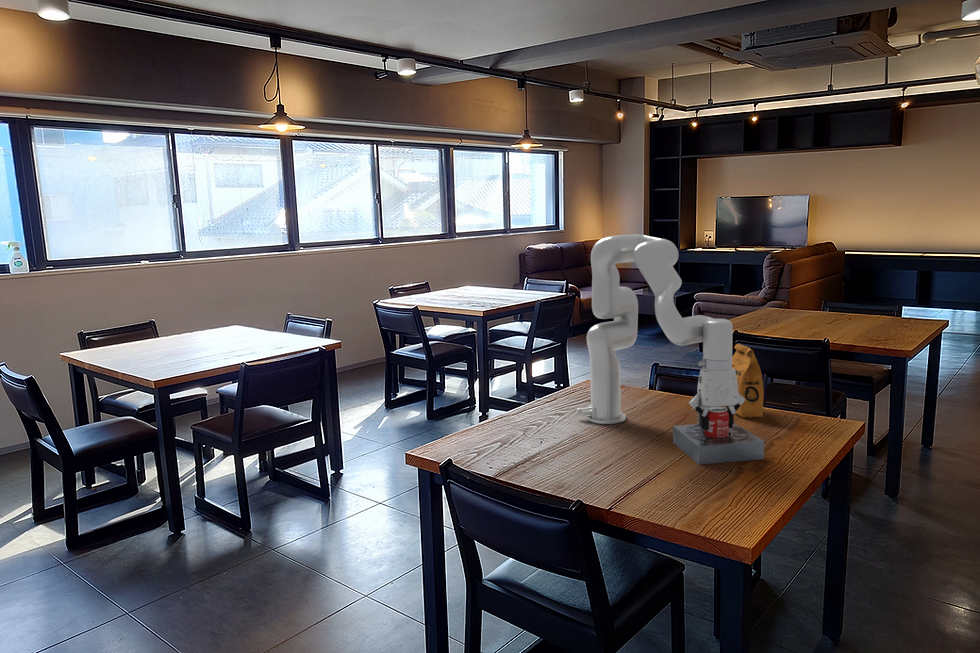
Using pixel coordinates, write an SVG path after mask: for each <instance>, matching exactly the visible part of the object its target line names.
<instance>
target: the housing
mask: <svg viewBox="0 0 980 653" xmlns="http://www.w3.org/2000/svg"><path fill="white" fill-rule="evenodd" d="M672 443H673V444H674V445H675V446H676V447H677V448H679V449H680V450H681V451H682V452H683V453H684V454H686V455H687V456H688V457H689V458H691V459H692V461H694V462H695V463H697V465H699V466H700V465H710V464H712V465H713V464H721V463H722V464H723V463H734V462H748V461H755V460H758V461H759V460H764V459H765V441H764V440H763V439H762V438H760V437H759V436H757V435H755V434H754V433H752V432H750V431H749V430H747V429H746V428H744V427H743V426H741V425H739V424H738V423H736V422H734V424H733V428H729V436H728V437H722V438H716V437H709V436H706V435H705V430H704V429H703V428H701V426H700V424H698V423H695V424H682V425H679V424H678V425H672Z"/></svg>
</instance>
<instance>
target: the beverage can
mask: <svg viewBox="0 0 980 653" xmlns="http://www.w3.org/2000/svg"><path fill="white" fill-rule="evenodd" d="M707 416H708V430H705V435H706V436H709V437H716V438H722V437H728V436H729V414H728V412H727V409H726V407H711V408H709V410H708V412H707Z"/></svg>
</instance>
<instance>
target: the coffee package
mask: <svg viewBox="0 0 980 653" xmlns="http://www.w3.org/2000/svg"><path fill="white" fill-rule="evenodd" d="M733 348H734V349H735V350H736V351H735V352H734V354H733V355H732V368H733V369H735V372H736V377H737V384H738V393H739V394H740V395H741V396H742V397H743V398H745V401H744V402H743V403H742V405H740V407H739V408H738V410H737V411H736V413H735V414H736V415H737V416H740V417H741V418H743V419H744V418H749V419H750V418H762V417H764V414H763V413H764V397H765V396H764V394H765V393H764V392H765V391H764V383H763V382H764V381H763V376H762V371H761V368H760V365H759V363H758V360H757V358H756V355H755V353H754V350H753V349H751V348H750V347H748V346H747V345H746V346H745V345H742V344H739V343H736V344H735V345H734V347H733Z"/></svg>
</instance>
